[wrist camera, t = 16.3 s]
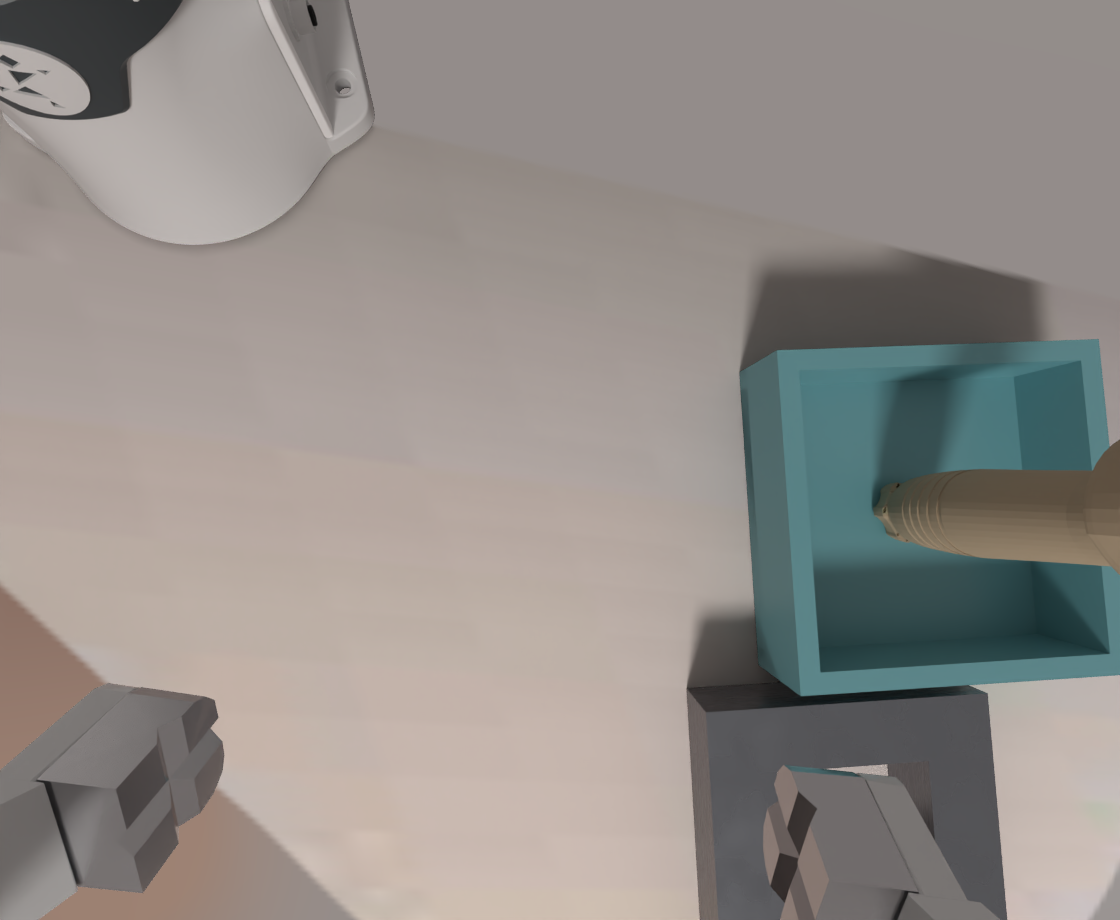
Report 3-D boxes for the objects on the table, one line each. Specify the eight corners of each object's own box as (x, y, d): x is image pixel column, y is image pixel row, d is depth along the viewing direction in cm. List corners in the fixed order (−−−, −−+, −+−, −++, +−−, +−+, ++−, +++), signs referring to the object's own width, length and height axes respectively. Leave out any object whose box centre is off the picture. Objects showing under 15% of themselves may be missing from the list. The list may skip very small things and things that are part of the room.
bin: (739, 372, 33) (776, 350, 28) (1014, 362, 34) (1098, 339, 29) (758, 665, 32) (800, 696, 27) (1040, 647, 33) (1132, 674, 28)
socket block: (686, 688, 32) (706, 712, 28) (938, 672, 32) (987, 693, 29) (702, 962, 31) (724, 1021, 27) (960, 938, 32) (1013, 993, 28)
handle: (862, 444, 32) (1154, 399, 17) (968, 493, 32) (1351, 491, 17) (828, 526, 32) (1097, 554, 17) (936, 575, 32) (1299, 647, 17)
